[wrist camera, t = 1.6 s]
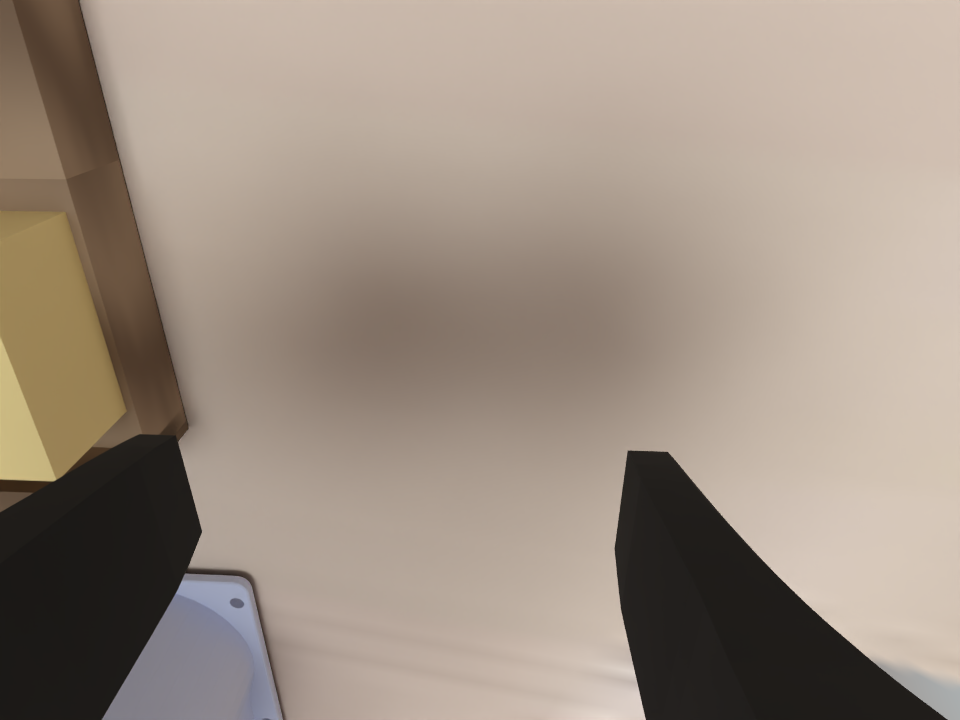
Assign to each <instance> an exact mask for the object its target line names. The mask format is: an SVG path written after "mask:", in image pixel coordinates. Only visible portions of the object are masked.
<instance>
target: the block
mask: <svg viewBox="0 0 960 720" xmlns="http://www.w3.org/2000/svg"><path fill="white" fill-rule="evenodd" d="M126 412H127V410H126V407H125V404H124V401H123V397H122V394H121V391H120V388H119V384H118V381H117V378H116V375H115V371H114V368H113V365H112V362H111V358H110V355H109V352H108V349H107V345H106V342H105V339H104V336H103V332H102V329H101V326H100V323H99V319H98V316H97V313H96V310H95V306H94V303H93V300H92V297H91V293H90V290H89V287H88V284H87V280H86V277H85V274H84V271H83V267H82V264H81V261H80V258H79V254H78V251H77V248H76V245H75V241H74V238H73V235H72V232H71V228H70V225H69V222H68V219H67V215H66V212H40V211H0V479H3V480H30V481H55V480H57V479H59V478H60V477H62V476H63V475H64V474H65V473H66V472H67V471H68V470H69V469H70V468H71V467H72V466H73V465H74V464H75V463H76V462H77V461H78V460H79V459H80V458H81V457H82V456H83V455H84V454H85V453H86V452H87V451H88V450H89V449H90V448H91V447H92V446H93V445H94V444H95V443H96V442H97V441H98V440H99V439H100V438H101V437H102V436H103V435H104V434H105V433H106V432H107V431H108V430H109V429H110V428H111V427H112V426H113V425H114V424H115V423H116V422H117V421H118V420H119V419H120V418H121V417H122V416H123V415H124V414H125V413H126Z"/></svg>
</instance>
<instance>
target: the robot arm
mask: <svg viewBox="0 0 960 720" xmlns="http://www.w3.org/2000/svg"><path fill="white" fill-rule="evenodd" d="M201 533H202V529H201V526H200V522H199V518H198V515H197V511H196V507H195V504H194V500H193V496H192V493H191V489H190V485H189V482H188V478H187V474H186V471H185V467H184V463H183V459H182V456H181V452H180V448H179V445H178V441H177V437H176V435H151V434H139V435H136V436H134V437H132V438H130V439H128V440H126V441H124V442H122V443H120V444H118V445H116V446H115V447H113V448H111V449H109V450H107V451H105V452H104V453H102V454H100V455H98V456H97V457H95V458H93V459H91V460H90V461H88V462H86V463H84V464H83V465H81V466H79V467H77V468H76V469H74V470H72V471H71V472H69V473H67V474H65V475H64V476H62V477H60V478H59V479H57V480H55V481H53V482H52V483H50V484H48V485H46V486H45V487H43V488H41V489H39V490H38V491H36V492H34V493H33V494H31V495H29V496H27V497H26V498H24V499H22V500H20V501H19V502H17V503H15V504H14V505H12V506H10V507H8V508H7V509H5V510H3V511H1V512H0V720H283V718H282V714H281V709H280V705H279V701H278V696H277V692H276V688H275V684H274V679H273V675H272V671H271V667H270V662H269V658H268V654H267V650H266V645H265V641H264V637H263V633H262V628H261V624H260V620H259V615H258V611H257V607H256V603H255V598H254V594H253V590H252V586H251V584H250V582H249V581H248V580H246V579H245V578H243V577H240V576H228V575H206V574H185V572H186V570H187V568H188V566H189V563H190V561H191V558H192V556H193V553H194V551H195V548H196V546H197V543H198V541H199V538H200V536H201ZM615 557H616V567H617V577H618V586H619V595H620V604H621V611H622V616H623V620H624V625H625V629H626V634H627V638H628V643H629V647H630V652H631V656H632V661H633V665H634V670H635V674H636V678H637V683H638V687H639V691H640V696H641V700H642V705H643V709H644V713H645V718H646V720H947V719H946V718H944V717H943V716H942V715H940V714H939V713H938V712H936V711H935V710H934V709H932V708H931V707H930V706H928V705H927V704H926V703H924V702H923V701H922V700H920V699H919V698H918V697H916V696H915V695H914V694H913V693H911V692H910V691H909V690H907V689H906V688H905V687H903V686H902V685H901V684H900V683H898V682H897V681H896V680H894V679H893V678H892V677H891V676H890V675H888V674H887V673H886V672H885V671H883V670H882V669H881V668H879V667H878V666H877V665H876V664H875V663H873V662H872V661H871V660H870V659H869V658H868V657H866V656H865V655H864V654H863V653H862V652H861V651H859V650H858V649H857V648H856V647H855V646H854V645H852V644H851V643H850V642H849V641H848V640H846V639H845V638H844V637H843V636H842V635H841V634H839V633H838V632H837V631H836V630H835V629H834V628H832V627H831V626H830V625H829V624H828V623H827V622H826V621H824V620H823V619H822V618H821V617H820V616H819V615H818V614H817V613H816V612H815V611H813V610H812V609H811V608H810V607H809V606H808V605H807V604H806V603H805V602H804V601H803V600H802V599H801V598H800V597H799V596H798V595H797V594H796V593H795V592H794V591H792V590H791V589H790V588H789V587H788V586H787V585H786V584H785V583H784V582H783V581H782V580H781V579H780V578H779V577H778V576H777V575H776V574H775V573H774V572H773V571H772V570H771V569H770V568H769V567H768V566H767V565H766V564H765V562H764V561H763V560H762V559H761V558H760V557H759V556H758V555H757V554H756V553H755V552H754V551H753V550H752V549H751V548H750V546H749V545H748V544H747V543H746V542H745V541H744V540H743V539H742V538H741V537H740V536H739V534H738V533H737V532H736V531H735V530H734V529H733V528H732V527H731V526H730V525H729V523H728V522H727V521H726V520H725V519H724V518H723V517H722V515H721V514H720V513H719V512H718V511H717V510H716V509H715V507H714V506H713V505H712V504H711V503H710V501H709V500H708V499H707V498H706V497H705V496H704V494H703V493H702V492H701V491H700V490H699V488H698V487H697V486H696V485H695V484H694V482H693V481H692V480H691V479H690V478H689V476H688V475H687V474H686V473H685V472H684V470H683V469H682V468H681V467H680V465H679V464H678V463H677V462H676V461H675V460H674V458H673V457H672V456H671V455H670V454H669V453H668V452H654V451H628V453H627V460H626V468H625V475H624V483H623V490H622V498H621V505H620V513H619V520H618V528H617V535H616V543H615Z"/></svg>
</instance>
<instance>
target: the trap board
mask: <svg viewBox="0 0 960 720" xmlns="http://www.w3.org/2000/svg"><path fill="white" fill-rule="evenodd" d="M0 211H40V212H66V215H67V219H68V222H69V225H70V228H71V232H72V235H73V238H74V241H75V245H76V248H77V251H78V254H79V258H80V261H81V264H82V267H83V271H84V274H85V277H86V280H87V284H88V287H89V290H90V293H91V297H92V300H93V303H94V306H95V310H96V313H97V316H98V319H99V323H100V326H101V329H102V332H103V336H104V339H105V342H106V345H107V349H108V352H109V355H110V358H111V362H112V365H113V368H114V371H115V375H116V378H117V381H118V384H119V388H120V391H121V394H122V397H123V401H124V404H125V407H126V410H127V412H126V413H125V414H124V415H123V416H122V417H121V418H120V419H119V420H118V421H117V422H116V423H115V424H114V425H113V426H112V427H111V428H110V429H109V430H108V431H107V432H106V433H105V434H104V435H103V436H102V437H101V438H100V439H99V440H98V441H97V442H96V443H95V444H94V445H93V446H92V447H91V448H90V449H89V450H88V451H87V452H86V453H85V454H84V455H83V456H82V457H81V458H80V459H79V460H78V461H77V462H76V463H75V464H74V465H73V466H72V467H71V468H70V469H69V470H68V471H67V472H66V473H65V474H67V473H69V472H71V471H72V470H74V469H76V468H77V467H79V466H81V465H83V464H84V463H86V462H88V461H90V460H91V459H93V458H95V457H97V456H98V455H100V454H102V453H104V452H105V451H107V450H109V449H111V448H113V447H115V446H116V445H118V444H120V443H122V442H124V441H126V440H128V439H130V438H132V437H134V436H136V435H139V434H151V435H176V437H177V441H179V439H180V438H181V437H182V436H183V434H184V433H185V432H186V431H187V429H188V425H187V421H186V417H185V413H184V409H183V405H182V402H181V398H180V394H179V390H178V386H177V382H176V378H175V374H174V371H173V367H172V363H171V359H170V355H169V351H168V347H167V343H166V339H165V336H164V332H163V328H162V324H161V320H160V316H159V312H158V308H157V305H156V301H155V297H154V293H153V289H152V285H151V281H150V277H149V274H148V270H147V266H146V262H145V258H144V254H143V250H142V246H141V242H140V239H139V235H138V231H137V227H136V223H135V219H134V215H133V211H132V208H131V204H130V200H129V196H128V192H127V188H126V184H125V180H124V177H123V173H122V169H121V165H120V161H119V157H118V153H117V149H116V145H115V142H114V138H113V134H112V130H111V126H110V122H109V118H108V114H107V111H106V107H105V103H104V99H103V95H102V91H101V87H100V83H99V80H98V76H97V72H96V68H95V64H94V60H93V56H92V52H91V49H90V45H89V41H88V37H87V33H86V29H85V25H84V21H83V17H82V14H81V10H80V6H79V2H78V0H0ZM65 474H64V475H65ZM64 475H63V476H64ZM52 482H53V481H30V480H3V479H0V512H1V511H3V510H5V509H7V508H8V507H10V506H12V505H14V504H15V503H17V502H19V501H20V500H22V499H24V498H26V497H27V496H29V495H31V494H33V493H34V492H36V491H38V490H39V489H41V488H43V487H45V486H46V485H48V484H50V483H52Z"/></svg>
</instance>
